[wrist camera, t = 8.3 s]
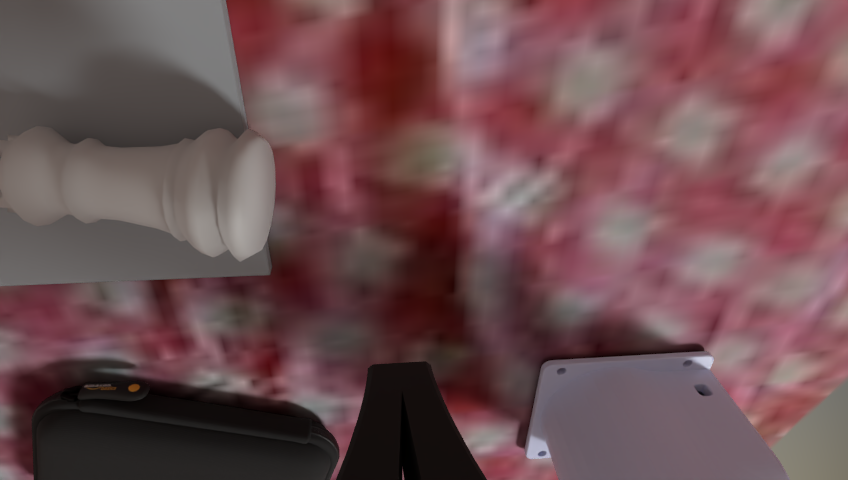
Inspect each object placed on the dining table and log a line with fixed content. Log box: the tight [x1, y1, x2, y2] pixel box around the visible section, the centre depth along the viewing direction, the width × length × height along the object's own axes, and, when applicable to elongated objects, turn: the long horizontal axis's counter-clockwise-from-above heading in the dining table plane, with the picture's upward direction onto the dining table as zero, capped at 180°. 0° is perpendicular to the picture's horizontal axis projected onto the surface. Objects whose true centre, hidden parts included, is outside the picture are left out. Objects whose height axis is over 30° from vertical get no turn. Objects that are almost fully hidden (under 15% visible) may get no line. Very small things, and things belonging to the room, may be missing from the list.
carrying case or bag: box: [32, 381, 339, 480], centre depth 27 cm, size 11×3×15 cm
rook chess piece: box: [0, 126, 276, 262], centre depth 17 cm, size 4×4×8 cm
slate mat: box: [0, 0, 272, 286], centre depth 18 cm, size 14×11×1 cm
